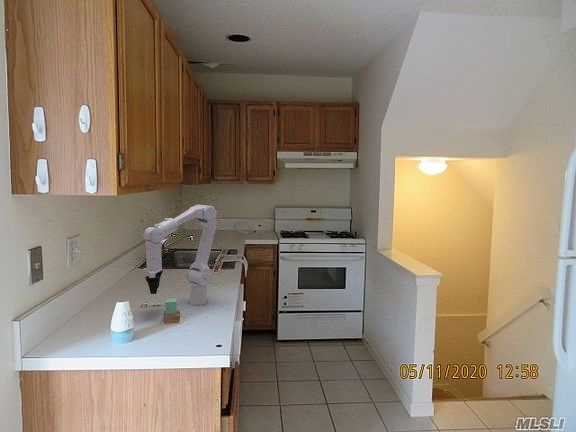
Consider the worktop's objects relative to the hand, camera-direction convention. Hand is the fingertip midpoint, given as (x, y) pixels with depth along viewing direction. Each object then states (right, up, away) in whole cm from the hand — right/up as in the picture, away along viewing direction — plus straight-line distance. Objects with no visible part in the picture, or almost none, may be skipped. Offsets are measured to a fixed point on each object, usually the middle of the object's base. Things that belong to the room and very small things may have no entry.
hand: (154, 290), depth 158 cm
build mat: (+6, -11, -2) cm, 12 cm away
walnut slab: (+8, -11, -5) cm, 14 cm away
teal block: (+8, -8, -6) cm, 12 cm away
